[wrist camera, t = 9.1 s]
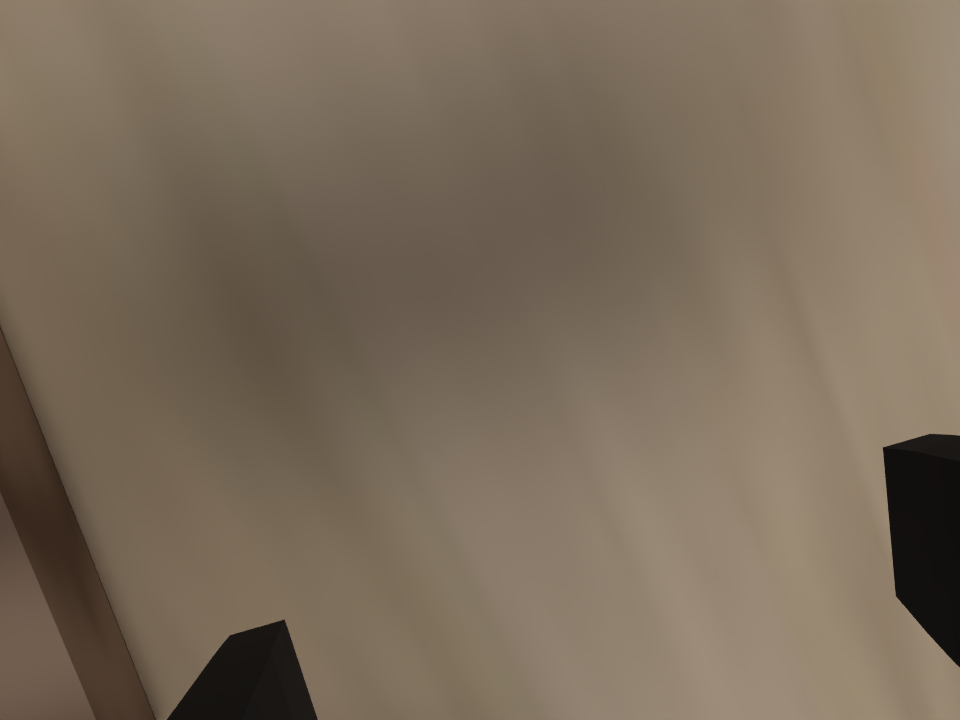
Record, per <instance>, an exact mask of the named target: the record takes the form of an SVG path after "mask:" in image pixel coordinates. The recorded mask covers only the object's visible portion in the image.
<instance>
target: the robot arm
mask: <svg viewBox="0 0 960 720" xmlns="http://www.w3.org/2000/svg"><path fill="white" fill-rule="evenodd" d="M883 454H884V465H885V477H886V488H887V500H888V511H889V522H890V534H891V545H892V557H893V568H894V580H895V591H896V597H897V598H898V599H899V600H900V601H901V603H902V604H903V605H904V606H905V607H906V608H907V610H908V611H909V612H910V613H911V614H912V615H913V617H914V618H915V619H916V620H917V621H918V622H919V624H920V625H921V626H922V627H923V628H924V629H925V631H926V632H927V633H928V634H929V635H930V636H931V637H932V638H933V639H934V641H935V642H936V643H937V644H938V645H939V646H940V647H941V648H942V649H943V650H944V651H945V653H946V654H947V655H948V656H949V657H950V658H951V659H952V660H953V661H954V662H955V663H956V664H957V665H958V666H959V667H960V436H957V435H941V434H928V435H925V436H921V437H918V438H914V439H911V440H907V441H904V442H901V443H897V444H894V445H890V446H887V447H883ZM167 720H318V719H317V716H316V713H315V710H314V707H313V704H312V701H311V698H310V695H309V692H308V689H307V686H306V683H305V680H304V677H303V674H302V671H301V668H300V665H299V662H298V659H297V656H296V653H295V650H294V646H293V643H292V640H291V637H290V634H289V631H288V628H287V625H286V622H285V620H282V621H278V622H275V623H271V624H268V625H264V626H261V627H257V628H254V629H250V630H247V631H244V632H240V633H237V634H233V635H230V636H229V637H228V638H227V640H226V641H225V642H224V643H223V644H222V646H221V647H220V648H219V649H218V651H217V652H216V653H215V655H214V656H213V657H212V659H211V660H210V661H209V663H208V664H207V666H206V667H205V668H204V670H203V671H202V672H201V674H200V675H199V677H198V678H197V679H196V681H195V682H194V683H193V685H192V686H191V688H190V689H189V690H188V692H187V693H186V694H185V696H184V697H183V699H182V700H181V701H180V703H179V704H178V705H177V707H176V708H175V709H174V711H173V712H172V713H171V715H170V716H169V717H168V719H167Z"/></svg>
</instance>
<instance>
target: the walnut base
mask: <svg viewBox="0 0 960 720" xmlns="http://www.w3.org/2000/svg"><path fill="white" fill-rule="evenodd" d="M0 720H155V718H154V715H153V713H152V710H151V708H150V705H149V703H148V700H147V698H146V695H145V693H144V690H143V688H142V685H141V683H140V680H139V678H138V675H137V672H136V670H135V667H134V665H133V662H132V660H131V657H130V655H129V652H128V650H127V647H126V645H125V642H124V640H123V637H122V635H121V632H120V630H119V627H118V624H117V622H116V619H115V617H114V614H113V612H112V609H111V607H110V604H109V602H108V599H107V597H106V594H105V592H104V589H103V587H102V584H101V582H100V579H99V577H98V574H97V571H96V569H95V566H94V564H93V561H92V559H91V556H90V554H89V551H88V549H87V546H86V544H85V541H84V539H83V536H82V534H81V531H80V529H79V526H78V524H77V521H76V518H75V516H74V513H73V511H72V508H71V506H70V503H69V501H68V498H67V496H66V493H65V491H64V488H63V486H62V483H61V481H60V478H59V476H58V473H57V470H56V468H55V465H54V463H53V460H52V458H51V455H50V453H49V450H48V448H47V445H46V443H45V440H44V438H43V435H42V433H41V430H40V428H39V425H38V423H37V420H36V417H35V415H34V412H33V410H32V407H31V405H30V402H29V400H28V397H27V395H26V392H25V390H24V387H23V385H22V382H21V380H20V377H19V375H18V372H17V370H16V367H15V364H14V362H13V359H12V357H11V354H10V352H9V349H8V347H7V344H6V342H5V339H4V337H3V334H2V332H1V329H0Z"/></svg>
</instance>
